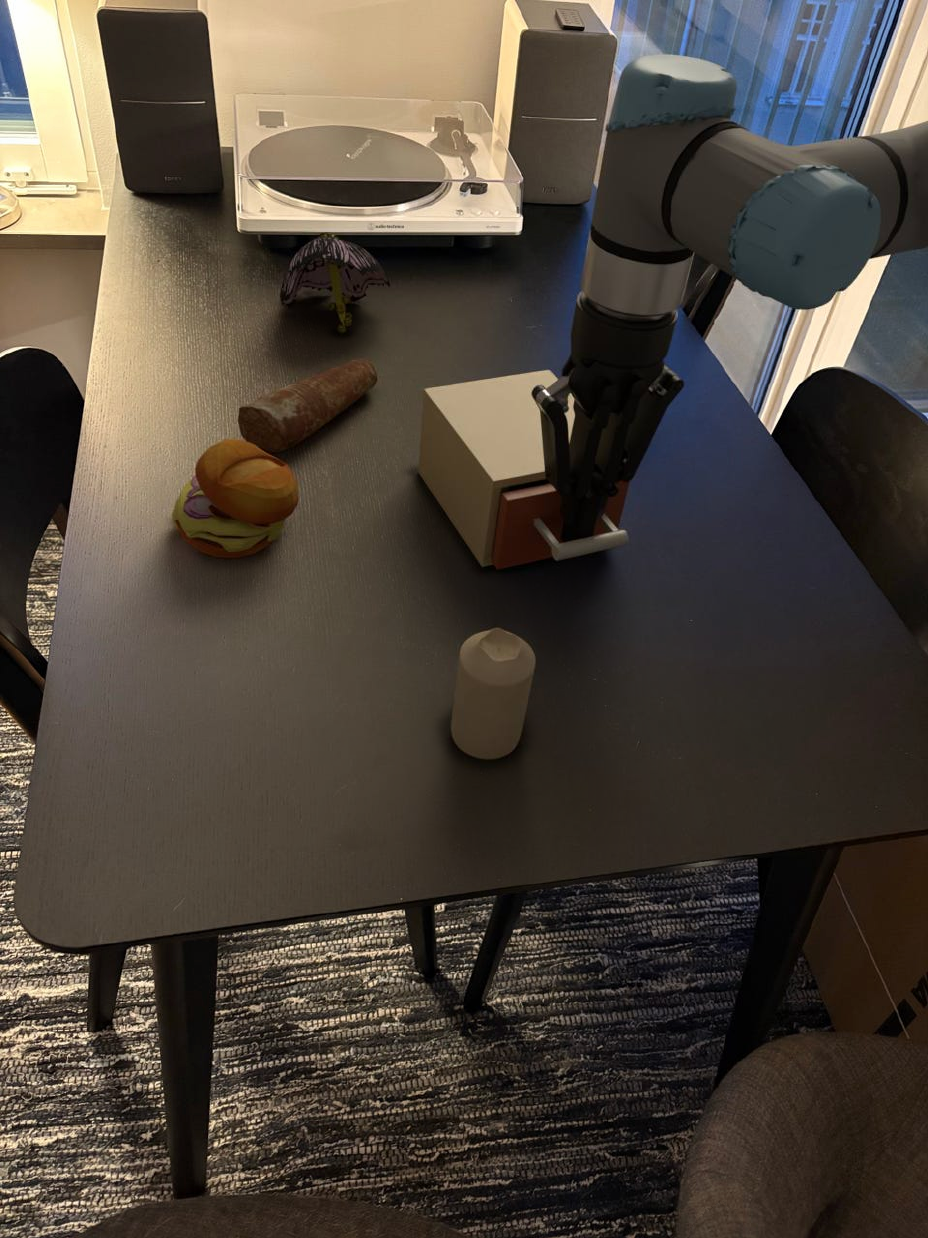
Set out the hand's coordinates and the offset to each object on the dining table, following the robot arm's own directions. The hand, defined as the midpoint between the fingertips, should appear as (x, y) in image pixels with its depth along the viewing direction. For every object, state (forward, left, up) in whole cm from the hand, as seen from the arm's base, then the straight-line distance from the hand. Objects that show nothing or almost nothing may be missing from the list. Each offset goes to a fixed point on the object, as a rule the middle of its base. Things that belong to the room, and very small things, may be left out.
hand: (574, 545), depth 87 cm
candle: (-5, +20, -4) cm, 21 cm away
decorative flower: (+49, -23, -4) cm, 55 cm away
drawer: (+6, -3, -3) cm, 8 cm away
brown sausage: (+35, -4, -4) cm, 36 cm away
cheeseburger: (+27, +15, -4) cm, 32 cm away
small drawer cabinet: (+10, -6, -4) cm, 13 cm away
